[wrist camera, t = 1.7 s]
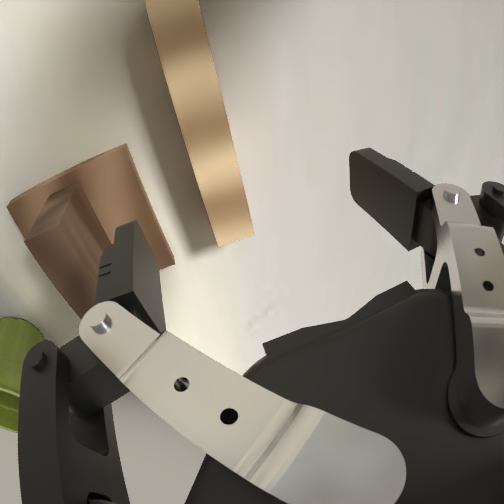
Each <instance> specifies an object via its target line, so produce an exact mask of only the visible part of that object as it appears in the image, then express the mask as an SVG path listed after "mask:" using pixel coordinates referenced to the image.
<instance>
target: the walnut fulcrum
mask: <svg viewBox="0 0 504 504" xmlns="http://www.w3.org/2000/svg"><path fill="white" fill-rule="evenodd" d="M7 208H8V210H9V212H10V214H11V215H12V217H13V219H14V220H15V222H16V224H17V225H18V227H19V229H20V230H21V232H22V234H23V235H24V237H25V238H26V239H25V241H24V242H25V244H26V245H27V247H28V248H29V250H30V251H31V253H32V254H33V256H34V257H35V259H36V260H37V262H38V263H39V265H40V266H41V268H42V269H43V270H44V272H45V273H46V275H47V276H48V277H49V279H50V280H51V281H52V283H53V284H54V285H55V287H56V288H57V289H58V291H59V292H60V293H61V295H62V296H63V297H64V299H65V300H66V301H67V302H68V304H69V305H70V306H71V307H72V309H73V310H74V311H75V312H76V313H77V315H78V316H79V317H80V318H81V319H82V318H83V317H84V315H85V314H86V313H87V312H88V311H89V310H90V309H91V308H92V307H94V305H95V296H96V287H97V279H98V271H99V264H100V258H101V256H102V254H103V252H104V250H105V249H106V247H107V246H108V245H111V244H113V243H114V237H115V229H116V227H118V226H121V225H123V224H126V223H128V222H131V221H134V220H137V222H138V223H139V225H140V227H141V229H142V231H143V233H144V235H145V237H146V240H147V242H148V244H149V246H150V248H151V250H152V252H153V254H154V256H155V259H156V261H157V265H158V268H159V270H160V269H163V268H166V267H168V266H171V265H174V264H175V261H174V256H173V254H172V251H171V249H170V247H169V245H168V243H167V240H166V238H165V236H164V234H163V232H162V229H161V227H160V225H159V222H158V220H157V218H156V216H155V213H154V211H153V209H152V206H151V204H150V202H149V199H148V197H147V194H146V192H145V190H144V187H143V185H142V182H141V180H140V177H139V175H138V172H137V170H136V167H135V165H134V162H133V160H132V157H131V154H130V152H129V149H128V147H127V144H124V145H121V146H119V147H116V148H114V149H112V150H109V151H107V152H105V153H102V154H100V155H98V156H96V157H93V158H91V159H89V160H87V161H85V162H82V163H80V164H78V165H76V166H74V167H72V168H70V169H68V170H66V171H64V172H62V173H60V174H58V175H56V176H54V177H52V178H50V179H48V180H46V181H45V182H43V183H41V184H39V185H37V186H35V187H33V188H32V189H30V190H28V191H26V192H25V193H23V194H21V195H19V196H18V197H16V198H14V199H13V200H11V201H10V203H9V204H8V205H7Z"/></svg>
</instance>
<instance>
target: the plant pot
mask: <svg viewBox="0 0 504 504" xmlns="http://www.w3.org/2000/svg"><path fill="white" fill-rule="evenodd" d="M41 341H44V338H43V336H42V334H41V333H40V331H39V330H38V329H37V328H36V327H35V326H33V325H32V324H30V323H29V322H27V321H25V320H22V319H14V318H11V317H5V318H2V319H0V428H3V429H5V430H8V431H12V432H16V433H18V414H19V397H20V385H21V375H22V366H23V362H24V359H25V357H26V355H27V353H28V352H29V351H30V349H31V348H32V347H33V346H34V345H36V344H37V343H39V342H41Z"/></svg>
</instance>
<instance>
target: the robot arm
mask: <svg viewBox="0 0 504 504" xmlns="http://www.w3.org/2000/svg"><path fill="white" fill-rule="evenodd" d="M349 166H350V191H351V195H352V197H353V199H354V201H355V202H356V203H357V204H358V205H359V206H360V207H361V208H362V209H364V210H365V211H366V212H367V213H368V214H369V215H370V216H371V217H373V218H374V219H375V220H376V221H377V222H378V223H379V224H380V225H381V226H382V227H383V228H385V229H386V230H387V231H388V232H389V233H390V234H391V235H392V236H393V237H394V238H395V239H396V240H397V241H398V242H399V243H401V244H402V245H403V246H404V247H405V248H406V249H407V250H408V251H410V250H412V249H414V248H416V247H419V246H421V247H422V252H421V264H422V279H423V289H419V290H415V289H414V288H413V287H412V286H411V285H410V284H409V283H408V282H407V281H405V282H403V283H401V284H399V285H397V286H395V287H393V288H391V289H389V290H387V291H385V292H383V293H381V294H379V295H377V296H375V297H374V298H373V299H372V300H371V301H369V302H368V303H367V304H366V305H364V306H363V307H362V308H361V309H360V310H358V311H357V312H356V313H355V314H353V315H352V316H351V317H349V318H348V319H346V320H342V321H337V322H332V323H327V324H322V325H316V326H311V327H305V328H301V329H299V330H296V331H294V332H291V333H289V334H286V335H283V336H281V337H278V338H276V339H273V340H270V341H268V342H265V343H262V344H263V347H264V350H265V354H266V356H264V357H263V358H261V359H260V360H258V361H257V362H256V363H255V364H254V365H252V366H251V367H250V368H249V369H248V370H247V371H246V372H245V373H244V375H243V376H241V375H239V374H238V373H236V372H234V371H232V370H231V369H229V368H227V367H225V366H224V365H222V364H220V363H218V362H217V361H215V360H213V359H212V358H210V357H208V356H207V355H205V354H203V353H202V352H200V351H199V350H197V349H195V348H194V347H192V346H190V345H189V344H187V343H186V342H184V341H183V340H181V339H179V338H178V337H176V336H175V335H173V334H172V333H170V332H168V331H166V325H165V318H164V310H163V302H162V294H161V285H160V276H159V268H158V265H157V261H156V259H155V256H154V254H153V252H152V250H151V248H150V246H149V244H148V242H147V240H146V237H145V235H144V233H143V231H142V229H141V227H140V225H139V223H138V222H137V220H134V221H131V222H128V223H126V224H123V225H121V226H118V227H116V229H115V237H114V243H113V244H111V245H108V246H107V247H106V249H105V250H104V252H103V254H102V256H101V258H100V264H99V271H98V279H97V287H96V296H95V305H94V307H92V308H91V309H90V310H89V311H88V312H87V313H86V314H85V315H84V317H83V318H82V320H81V322H80V325H79V336H77V337H76V338H74V339H73V340H71V341H70V342H68V343H67V344H65V345H64V346H62V347H61V348H58V347H57V346H56V345H55V344H54V343H53V342H51V341H48V340H45V341H41V342H39V343H37V344H36V345H34V346H33V347H32V348H31V349H30V351H29V352H28V353H27V355H26V357H25V359H24V362H23V366H22V375H21V385H20V397H19V414H18V460H19V477H20V489H21V497H22V504H130V502H129V497H128V493H127V489H126V485H125V481H124V476H123V472H122V467H121V462H120V457H119V452H118V446H117V441H116V434H115V428H114V422H113V414H112V407H111V403H112V402H113V401H115V400H117V399H118V398H120V397H121V396H123V395H124V394H126V393H128V392H129V391H131V392H133V393H134V394H135V395H136V396H137V397H138V398H139V399H140V400H141V401H142V402H143V403H145V404H146V405H147V406H148V407H149V408H151V409H152V410H153V411H154V412H155V413H156V414H157V415H158V416H160V417H161V418H162V419H163V420H164V421H166V422H167V423H168V424H169V425H170V426H172V427H173V428H174V429H176V430H177V431H178V432H179V433H181V434H182V435H183V436H184V437H186V438H187V439H188V440H190V441H191V442H192V443H194V444H195V445H196V446H198V447H199V448H200V449H202V450H203V451H204V452H206V456H205V458H204V461H203V463H202V465H201V468H200V470H199V472H198V474H197V477H196V479H195V481H194V484H193V486H192V488H191V490H190V493H189V495H188V497H187V500H186V502H185V504H504V245H503V244H502V243H501V242H502V239H503V236H504V185H502V184H500V183H497V182H491V181H488V182H485V183H483V185H482V189H481V194H480V195H475V196H469V194H468V193H467V192H466V191H465V190H464V189H462V188H460V187H458V186H455V185H452V184H438V185H436V186H435V185H433V184H432V183H430V182H429V181H427V180H426V179H424V178H423V177H421V176H420V175H418V174H416V173H415V172H412V170H410V169H408V168H407V167H406V168H405V166H404V165H402V164H400V163H399V162H397V161H395V160H392V159H389V158H387V157H385V156H383V155H382V154H380V153H378V152H376V151H375V150H373V149H371V148H365V149H361V150H357V151H353V152H351V153H350V156H349ZM69 421H70V424H69Z"/></svg>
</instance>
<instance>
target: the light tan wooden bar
mask: <svg viewBox="0 0 504 504" xmlns="http://www.w3.org/2000/svg"><path fill="white" fill-rule="evenodd" d="M145 4H146V10H147V14H148V17H149V21H150V25H151V29H152V32H153V36H154V40H155V43H156V47H157V51H158V54H159V58H160V61H161V65H162V68H163V72H164V75H165V79H166V82H167V86H168V89H169V93H170V96H171V100H172V103H173V106H174V110H175V113H176V116H177V120H178V123H179V126H180V130H181V133H182V136H183V139H184V143H185V146H186V149H187V152H188V156H189V159H190V162H191V165H192V168H193V172H194V175H195V178H196V181H197V184H198V187H199V190H200V194H201V197H202V200H203V203H204V206H205V209H206V212H207V215H208V218H209V221H210V224H211V227H212V230H213V233H214V235H215V238H216V241H217V244H218V247H221V246H224V245H227V244H230V243H233V242H236V241H239V240H242V239H244V238H247V237H250V236H253V235H255V233H254V229H253V225H252V220H251V216H250V212H249V208H248V203H247V199H246V195H245V191H244V187H243V182H242V178H241V174H240V170H239V165H238V161H237V157H236V153H235V149H234V144H233V140H232V136H231V132H230V128H229V124H228V119H227V115H226V111H225V107H224V103H223V99H222V95H221V90H220V86H219V82H218V78H217V74H216V70H215V66H214V62H213V58H212V54H211V49H210V45H209V41H208V37H207V33H206V29H205V25H204V21H203V17H202V13H201V9H200V5H199V1H198V0H145Z"/></svg>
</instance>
